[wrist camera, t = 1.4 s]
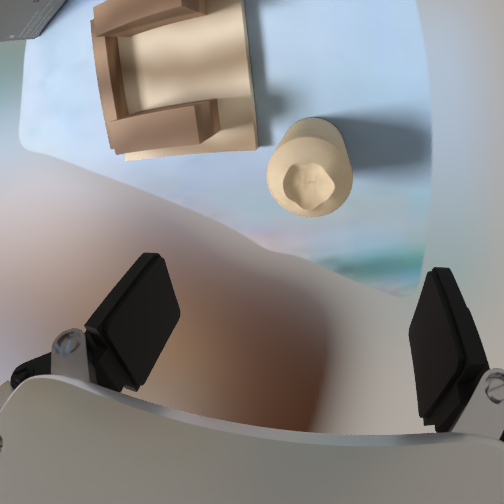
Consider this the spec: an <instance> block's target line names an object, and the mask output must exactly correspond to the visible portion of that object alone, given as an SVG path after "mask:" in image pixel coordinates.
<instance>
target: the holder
mask: <svg viewBox="0 0 504 504" xmlns="http://www.w3.org/2000/svg"><path fill="white" fill-rule="evenodd" d="M93 10H94V19H93V20H91V21H90V22H91V33H92V43H93V51H94V59H95V67H96V74H97V80H98V87H99V93H100V99H101V104H102V110H103V115H104V120H105V125H106V130H107V134H108V139H109V144H110V148H111V149H115V153H116V155H119V154H124V155H125V159H126V161H131V160H139V159H147V158H155V157H164V156H174V155H185V154H197V153H211V152H227V151H249V150H257V149H258V147H259V144H258V133H257V122H256V112H255V101H254V91H253V81H252V72H251V62H250V52H249V43H248V34H247V25H246V16H245V7H244V0H107V1H105V2H103V3H101V4H99V5H97V6H95V7H93Z"/></svg>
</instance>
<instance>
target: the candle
mask: <svg viewBox="0 0 504 504" xmlns="http://www.w3.org/2000/svg"><path fill="white" fill-rule="evenodd" d="M267 183H268V187H269V189H270V192H271V194H272V195H273V197H274V198H275V200H276V201H277V202H278V203H279V204H280V205H281V206H282V207H283V208H285V209H286V210H288V211H290V212H292V213H294V214H296V215H300V216H305V217H319V216H323V215H327V214H329V213H331V212H333V211H335V210H336V209H338V208H339V207H340V206H341V205H342V204H343V203H344V202H345V201H346V199H347V198H348V196H349V194H350V191H351V188H352V183H353V174H352V169H351V165H350V161H349V157H348V154H347V150H346V147H345V143H344V140H343V138H342V135H341V133H340V132H339V130H338V129H337V128H336V127H335V126H334V125H333V124H331V123H330V122H328V121H326V120H324V119H320V118H305V119H302V120H299V121H297V122H296V123H294V124H293V125H292V126H291V127H290V128H289V129H288V130H287V132H286V133H285V135H284V137H283V138H282V140H281V142H280V143H279V145H278V147H277V148H276V150H275V152H274V153H273V155H272V157H271V159H270V161H269V164H268V168H267Z"/></svg>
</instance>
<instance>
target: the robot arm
mask: <svg viewBox="0 0 504 504" xmlns="http://www.w3.org/2000/svg"><path fill="white" fill-rule="evenodd" d="M179 318H180V308H179V305H178V302H177V299H176V296H175V293H174V290H173V286H172V283H171V280H170V277H169V273H168V270H167V267H166V263H165V260H164V259H163V258H162V257H161V256H160V255H159V254H158V253H143V254H142V255H141V256H140V257H139V258H138V260H137V261H136V262H135V263H134V264H133V265H132V267H131V268H130V269H129V270H128V271H127V273H126V274H125V275H124V276H123V277H122V278H121V280H120V281H119V282H118V283H117V285H116V286H115V287H114V288H113V289H112V291H111V292H110V293H109V294H108V296H107V297H106V298H105V299H104V301H103V302H102V303H101V304H100V306H99V307H98V308H97V310H96V311H95V312H94V313H93V314H92V316H91V317H90V319H89V320H88V321H87V323H86V324H85V325H84V326H85V328H86V329H87V330H86V332H85V333H84V332H83V331H82V330H80V329H77V328H72V329H68V330H66V331H64V332H62V333H61V334H59V335H58V336H57V338H56V339H55V340H54V342H53V344H52V351H51V352H50V353H48V354H45V355H42V356H40V357H38V358H35V359H33V360H30V361H28V362H25V363H23V364H21V365H20V366H18V367H17V368H16V369H15V370H14V372H13V374H12V376H11V381H10V382H9V381H7V382H5V383H3V384H2V385H1V386H0V504H504V370H503V369H499V368H493V369H490V368H489V364H488V361H487V358H486V355H485V351H484V349H483V346H482V342H481V340H480V337H479V334H478V331H477V328H476V326H475V323H474V320H473V318H472V315H471V313H470V311H469V309H468V308H467V306H466V304H465V301H464V299H463V297H462V294H461V292H460V290H459V288H458V285H457V283H456V280H455V278H454V276H453V274H452V272H451V270H450V269H449V268H441V267H434V268H433V269H432V271H429V272H428V273H427V276H426V279H425V282H424V286H423V289H422V292H421V295H420V298H419V301H418V304H417V307H416V310H415V313H414V316H413V319H412V322H411V325H410V328H409V341H410V346H411V353H412V360H413V366H414V374H415V382H416V390H417V400H418V411H419V416H420V418H423V420H424V426H427V425H435V431H436V433H424V434H406V435H405V434H404V435H341V434H340V435H339V434H322V433H309V432H297V431H288V430H280V429H272V428H264V427H258V426H251V425H245V424H239V423H233V422H228V421H223V420H218V419H213V418H209V417H204V416H200V415H195V414H191V413H187V412H183V411H179V410H175V409H171V408H168V407H164V406H161V405H157V404H154V403H150V402H147V401H144V400H140V399H137V398H134V397H131V396H128V395H125V394H122V389H123V387H125V388H126V389H129V390H132V391H135V392H137V391H138V389H139V387H140V385H143V384H144V383H145V382H146V380H147V377H148V376H149V374H150V372H151V370H152V368H153V367H154V365H155V363H156V361H157V359H158V357H159V355H160V353H161V352H162V350H163V348H164V346H165V344H166V342H167V340H168V338H169V337H170V335H171V333H172V331H173V329H174V328H175V326H176V324H177V322H178V320H179Z"/></svg>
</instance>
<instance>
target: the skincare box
mask: <svg viewBox="0 0 504 504" xmlns="http://www.w3.org/2000/svg"><path fill="white" fill-rule="evenodd" d="M65 1H66V0H0V42H3V41H12V40H25V39H35V38H37V37H38V36H39V34H40V33H41V31H42V30H43V28H44V27H45V26H46V24H47V23H48V22H49V21H50V19H51V18H52V17H53V16H54V14H55V13H56V12H57V11H58V9H59V8H60V7H61V6H62V5H63V3H64V2H65Z"/></svg>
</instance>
